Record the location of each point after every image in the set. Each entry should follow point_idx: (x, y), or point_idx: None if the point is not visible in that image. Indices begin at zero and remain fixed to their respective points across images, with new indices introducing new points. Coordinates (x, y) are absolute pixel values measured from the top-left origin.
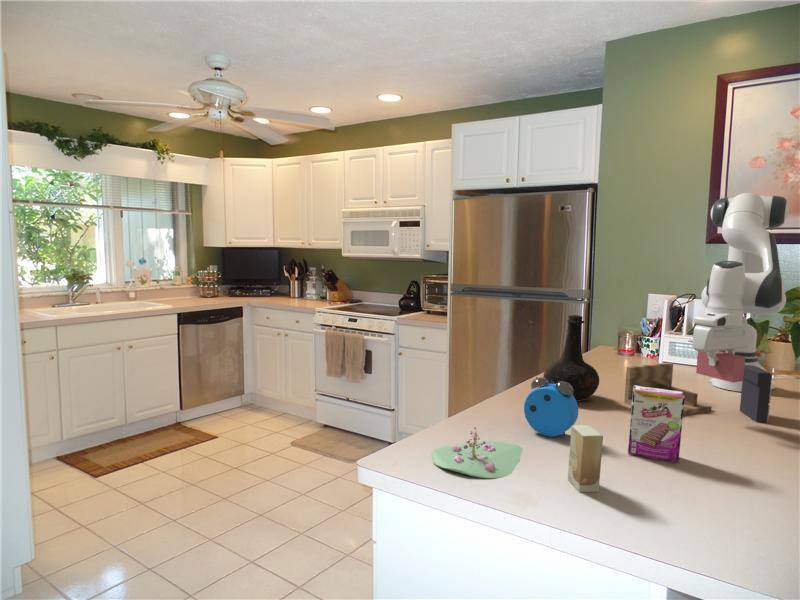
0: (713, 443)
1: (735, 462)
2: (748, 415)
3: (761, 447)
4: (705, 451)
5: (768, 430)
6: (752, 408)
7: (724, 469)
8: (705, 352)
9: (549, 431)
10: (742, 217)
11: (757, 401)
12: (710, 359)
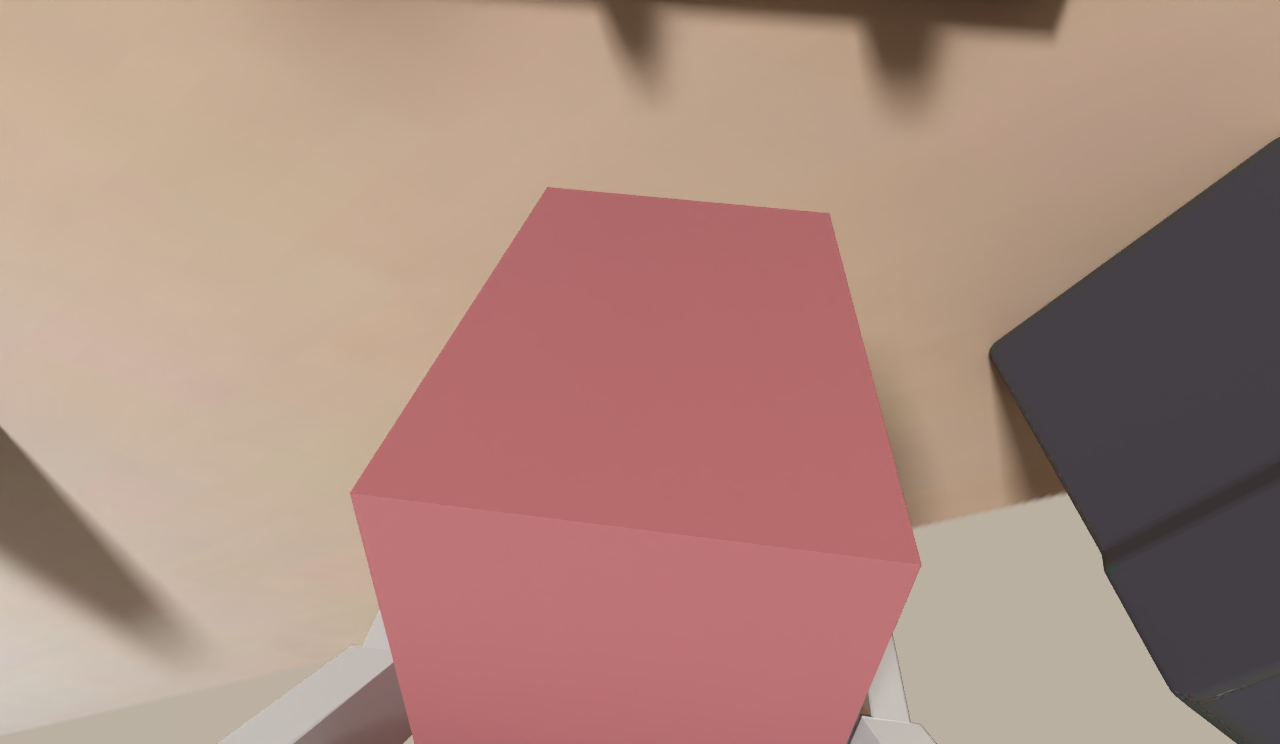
0: (306, 407)
1: (226, 540)
2: (1110, 266)
3: None
4: (177, 439)
5: None
6: (1088, 346)
7: (125, 547)
8: (405, 646)
9: None
10: None
11: (1051, 447)
12: (367, 659)
